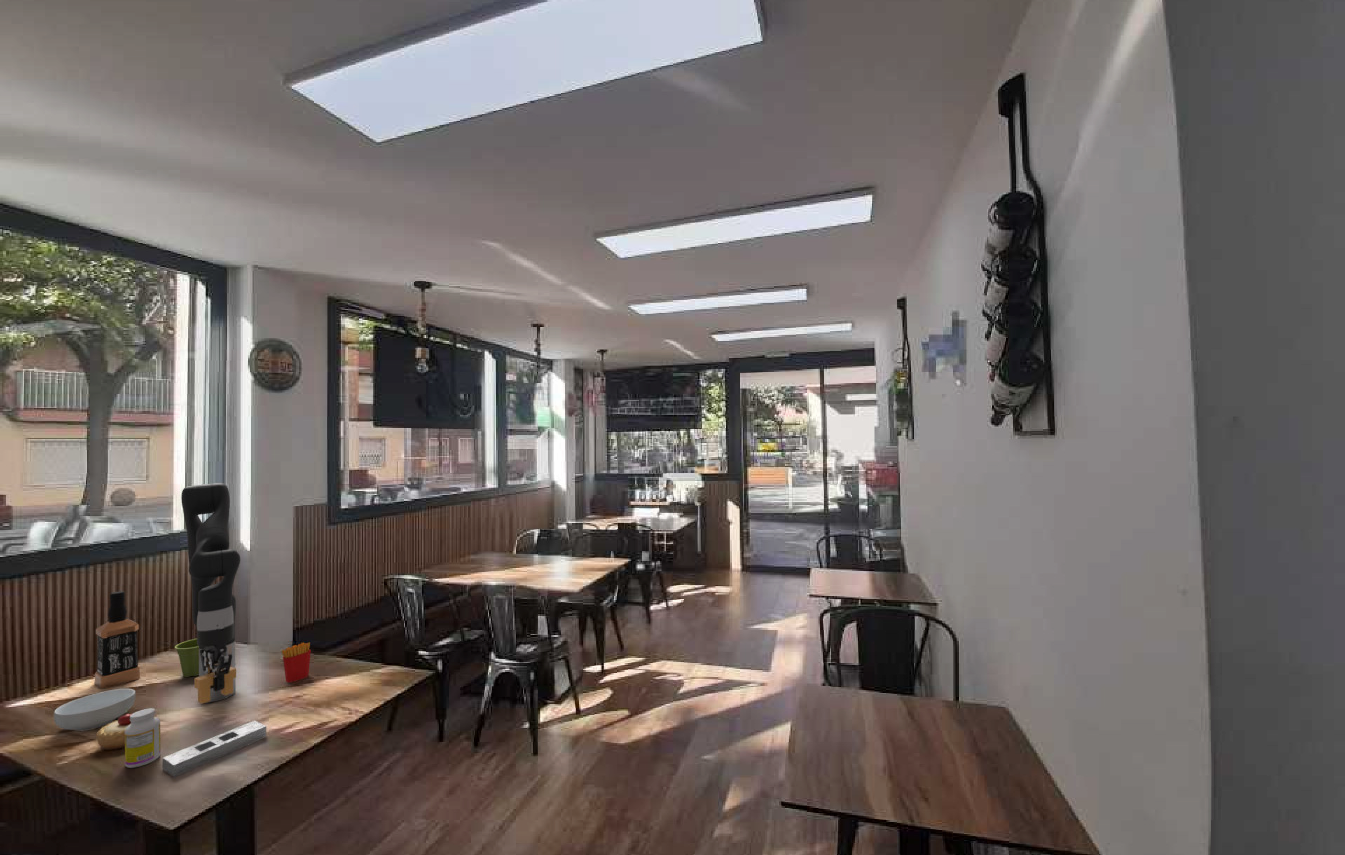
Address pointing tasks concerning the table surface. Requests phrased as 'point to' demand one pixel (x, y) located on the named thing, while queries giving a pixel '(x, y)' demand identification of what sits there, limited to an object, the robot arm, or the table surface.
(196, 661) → the plant pot
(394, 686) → the table surface
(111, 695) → the cereal bowl
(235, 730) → the rail
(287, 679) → the french fries
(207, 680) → the ochre wooden block
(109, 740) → the pastry
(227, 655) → the robot arm
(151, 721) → the supplement bottle
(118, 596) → the whiskey bottle
